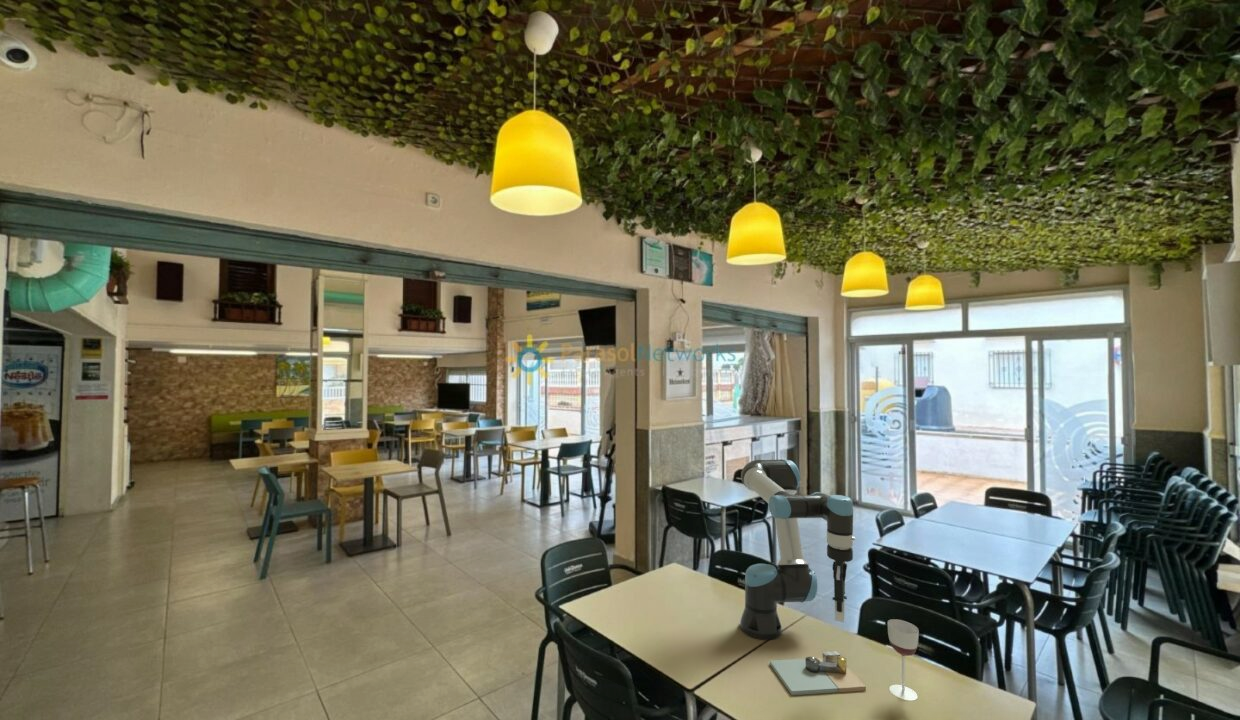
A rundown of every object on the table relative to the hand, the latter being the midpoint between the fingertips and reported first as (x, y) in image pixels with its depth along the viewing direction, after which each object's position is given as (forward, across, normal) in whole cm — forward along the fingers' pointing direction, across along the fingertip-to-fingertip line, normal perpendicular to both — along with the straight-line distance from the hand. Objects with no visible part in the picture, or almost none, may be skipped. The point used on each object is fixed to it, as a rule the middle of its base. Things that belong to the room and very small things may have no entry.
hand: (839, 620), depth 155 cm
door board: (+19, -1, +7) cm, 21 cm away
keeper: (+18, +8, +3) cm, 20 cm away
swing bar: (+18, +2, +4) cm, 19 cm away
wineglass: (+20, +4, -18) cm, 27 cm away
